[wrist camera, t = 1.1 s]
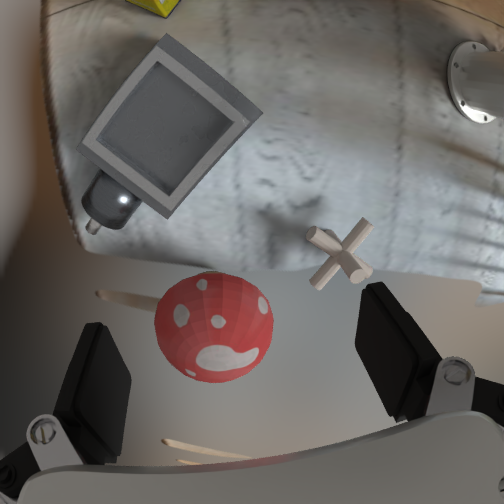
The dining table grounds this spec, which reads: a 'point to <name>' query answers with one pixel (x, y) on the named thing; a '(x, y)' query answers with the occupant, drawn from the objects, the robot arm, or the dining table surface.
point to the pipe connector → (340, 254)
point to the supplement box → (157, 6)
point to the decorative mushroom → (214, 326)
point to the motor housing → (160, 135)
